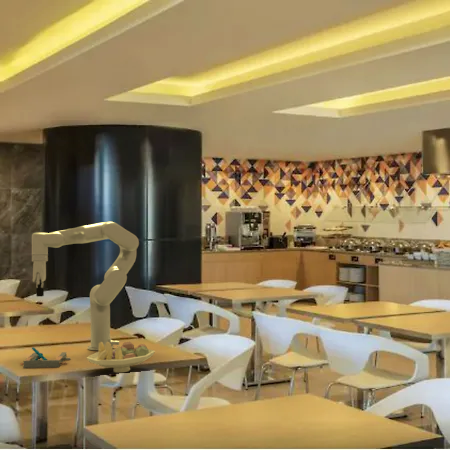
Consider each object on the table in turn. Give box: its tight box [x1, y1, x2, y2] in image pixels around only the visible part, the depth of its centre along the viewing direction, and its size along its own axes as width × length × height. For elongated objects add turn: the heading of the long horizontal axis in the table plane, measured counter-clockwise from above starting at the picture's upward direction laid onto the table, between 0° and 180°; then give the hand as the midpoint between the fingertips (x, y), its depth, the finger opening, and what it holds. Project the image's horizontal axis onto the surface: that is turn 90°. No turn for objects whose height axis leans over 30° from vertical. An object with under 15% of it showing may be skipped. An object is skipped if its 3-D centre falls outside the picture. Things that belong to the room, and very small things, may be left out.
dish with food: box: [86, 341, 156, 373], centre depth 316 cm, size 28×28×14 cm
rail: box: [20, 351, 71, 369], centre depth 336 cm, size 20×24×3 cm
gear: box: [31, 346, 48, 360], centre depth 333 cm, size 11×6×10 cm
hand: (40, 296), depth 362 cm, fingers closed
